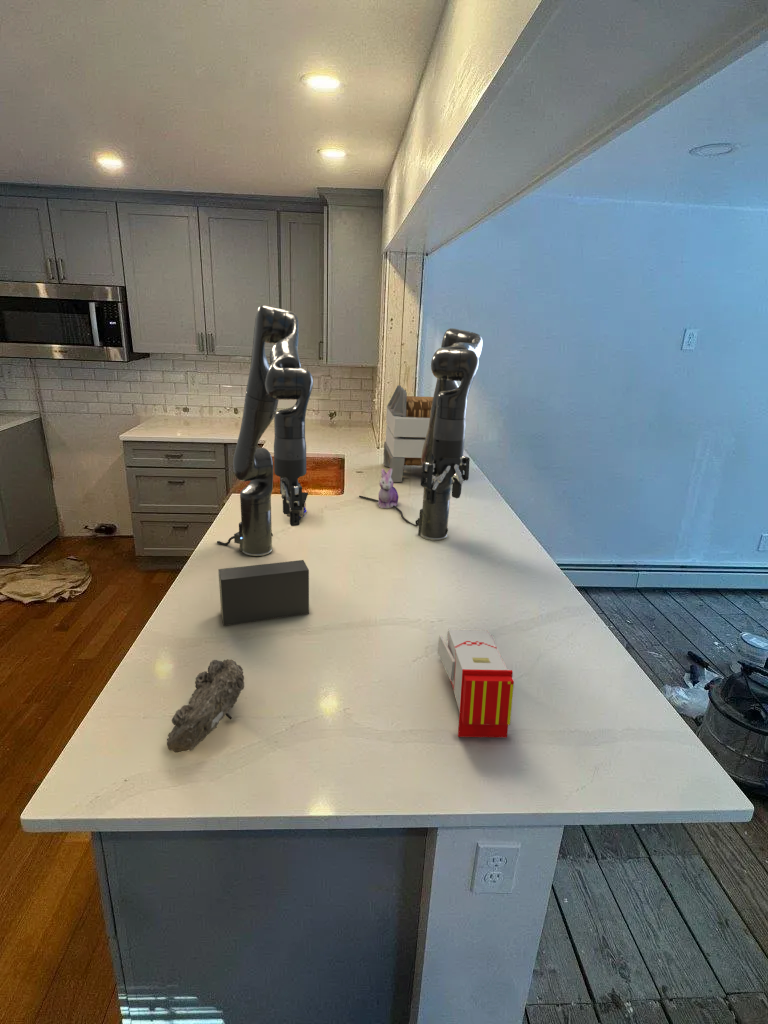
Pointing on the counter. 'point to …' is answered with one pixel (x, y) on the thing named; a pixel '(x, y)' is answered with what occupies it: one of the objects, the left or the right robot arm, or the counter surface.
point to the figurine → (387, 491)
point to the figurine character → (304, 496)
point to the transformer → (405, 431)
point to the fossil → (206, 705)
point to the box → (263, 592)
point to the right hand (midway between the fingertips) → (443, 500)
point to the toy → (478, 682)
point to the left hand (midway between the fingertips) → (291, 519)
